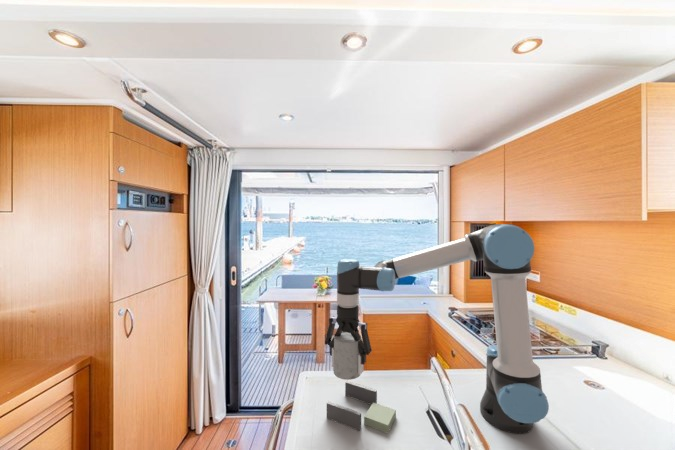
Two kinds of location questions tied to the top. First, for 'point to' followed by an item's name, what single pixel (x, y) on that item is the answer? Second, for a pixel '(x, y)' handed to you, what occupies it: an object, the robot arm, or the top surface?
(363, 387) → the parallel grey rails
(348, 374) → the grey cylindrical piece
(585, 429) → the top surface
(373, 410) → the block
